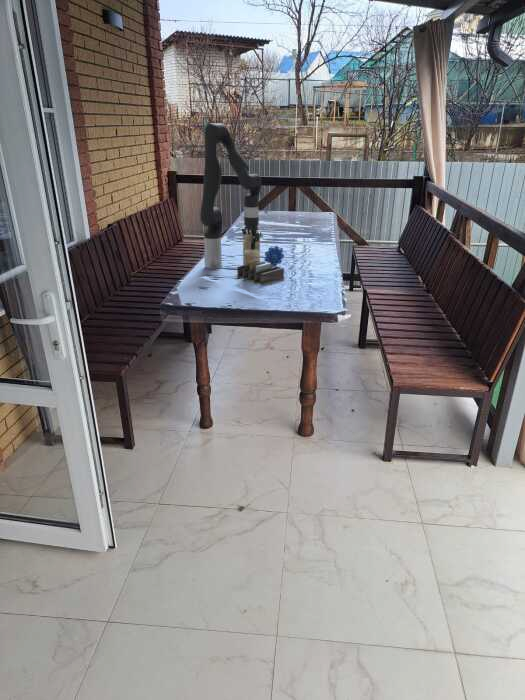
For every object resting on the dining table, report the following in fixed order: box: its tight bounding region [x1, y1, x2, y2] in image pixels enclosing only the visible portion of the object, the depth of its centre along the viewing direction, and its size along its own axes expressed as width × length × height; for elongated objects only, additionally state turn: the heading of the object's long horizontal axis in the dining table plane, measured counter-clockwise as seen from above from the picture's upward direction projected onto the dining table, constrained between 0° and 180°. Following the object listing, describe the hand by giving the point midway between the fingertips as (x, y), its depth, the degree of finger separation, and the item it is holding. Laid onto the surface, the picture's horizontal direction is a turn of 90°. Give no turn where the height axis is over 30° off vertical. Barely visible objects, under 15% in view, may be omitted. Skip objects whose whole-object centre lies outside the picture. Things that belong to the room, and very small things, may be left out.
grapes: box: [263, 245, 285, 267], centre depth 279 cm, size 12×7×12 cm, turn 75°
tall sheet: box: [242, 234, 261, 266], centre depth 257 cm, size 2×10×16 cm, turn 133°
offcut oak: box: [250, 260, 266, 270], centre depth 259 cm, size 2×9×7 cm, turn 133°
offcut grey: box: [256, 262, 271, 272], centre depth 256 cm, size 2×9×7 cm, turn 133°
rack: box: [234, 264, 287, 286], centre depth 258 cm, size 22×18×6 cm
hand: (251, 248), depth 257 cm, fingers closed on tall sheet, 2 cm apart
